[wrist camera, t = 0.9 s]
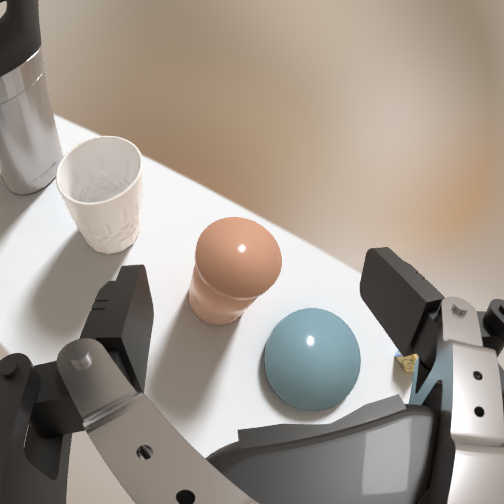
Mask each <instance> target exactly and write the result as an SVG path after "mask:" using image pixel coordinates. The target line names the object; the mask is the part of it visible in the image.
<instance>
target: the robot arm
mask: <svg viewBox="0 0 504 504" xmlns="http://www.w3.org/2000/svg"><path fill="white" fill-rule="evenodd" d="M3 1H6V2H7V9H6V12H5V13H4V15H3V16H2V17H1V18H0V173H1V175H2V177H3V179H4V181H5V183H6V185H7V187H8V188H9V189H10V191H12V192H13V193H16V194H23V195H25V194H30V193H33V192H36V191H38V190H40V189H42V188H44V187H45V186H46V185H48V184H49V183H50V182H51V181H52V180H53V179H54V178H55V177H56V172H57V169H58V166H59V164H60V162H61V160H62V159H63V153H62V149H61V145H60V142H59V138H58V133H57V129H56V125H55V120H54V116H53V111H52V107H51V102H50V97H49V91H48V86H47V80H46V73H45V67H44V61H43V53H42V44H41V35H40V26H39V11H38V0H0V3H1V2H3ZM360 294H361V297H362V299H363V301H364V302H365V304H366V305H367V306H368V308H369V309H370V310H371V312H372V313H373V315H374V316H375V317H376V319H377V320H378V321H379V323H380V324H381V326H382V327H383V328H384V330H385V331H386V333H387V334H388V336H389V337H390V338H391V340H392V341H393V343H394V344H395V346H396V347H397V348H398V350H399V351H400V353H401V354H402V356H403V357H406V356H410V355H413V354H417V355H418V357H417V359H416V361H415V365H414V373H413V381H412V388H411V394H410V400H409V404H404V403H403V401H402V399H401V397H400V396H399V394H398V395H395V396H392V397H389V398H386V399H383V400H379V401H376V402H373V403H370V404H366V405H364V406H362V407H361V408H359V409H357V410H355V411H354V412H352V413H350V414H348V415H346V416H345V417H343V418H341V419H339V420H337V421H335V422H333V423H331V424H321V425H311V424H278V425H272V426H265V427H258V428H250V429H242V430H238V440H239V441H237V442H235V443H232V444H229V445H227V446H225V447H222V448H220V449H219V450H217V451H215V452H213V453H212V454H210V455H209V456H208V457H206V458H204V457H203V456H202V455H201V454H200V453H198V452H197V451H196V450H195V449H194V448H193V447H192V446H191V445H190V444H189V443H188V442H187V441H186V440H185V439H184V438H183V437H182V436H181V435H180V433H179V432H178V431H177V430H176V429H175V428H174V427H173V426H172V425H171V424H170V423H169V422H168V421H167V420H166V419H165V417H164V416H163V415H162V414H161V413H160V412H159V411H158V410H157V408H156V407H155V406H154V405H153V404H152V403H151V401H150V400H149V399H148V398H147V397H146V396H145V395H144V387H145V378H146V369H147V361H148V353H149V346H150V339H151V332H152V326H153V318H154V312H153V303H152V298H151V293H150V289H149V284H148V279H147V274H146V269H145V266H144V265H128V266H122V267H121V269H120V272H119V274H118V277H117V279H116V281H109V282H107V283H106V284H105V285H104V286H103V287H102V288H101V289H100V290H99V292H98V295H97V297H96V299H95V302H94V304H93V306H92V311H90V313H89V316H88V318H87V321H86V323H85V326H84V328H83V331H82V333H81V336H80V339H78V340H75V341H72V342H70V343H69V344H67V345H66V346H65V347H64V348H63V349H62V350H61V351H60V353H59V354H58V357H57V361H54V362H49V363H45V364H40V365H36V366H33V364H32V363H31V361H30V360H29V358H28V357H27V356H26V355H24V354H21V353H14V354H10V355H8V356H6V357H5V358H3V359H2V360H0V504H66V492H67V477H68V464H69V454H70V446H71V439H72V433H74V432H79V431H84V430H86V432H87V434H88V435H89V437H90V439H91V440H92V442H93V444H94V445H95V447H96V449H97V450H98V452H99V453H100V455H101V456H102V458H103V459H104V461H105V463H106V464H107V465H108V467H109V468H110V470H111V471H112V473H113V474H114V476H115V477H116V478H117V480H118V481H119V483H120V484H121V485H122V487H123V488H124V489H125V491H126V492H127V493H128V495H129V496H130V497H131V499H132V500H133V501H134V502H135V504H504V370H503V369H502V367H501V366H500V365H499V363H498V361H497V357H498V356H499V354H500V352H501V351H502V349H503V347H504V300H501V299H494V300H492V301H491V303H490V305H489V307H488V309H487V311H486V312H479V311H476V310H475V308H474V307H473V306H472V305H471V304H470V303H468V302H467V301H465V300H463V299H461V298H457V297H447V298H445V297H444V296H443V295H442V294H441V293H440V292H439V291H438V290H437V289H436V288H435V287H434V286H433V285H432V284H430V283H429V282H428V281H427V280H425V278H424V277H423V276H422V275H421V274H419V273H418V271H417V270H416V269H415V268H414V267H413V266H411V265H410V264H408V263H407V262H405V261H403V260H402V259H401V258H399V257H398V256H397V255H396V254H395V253H394V252H393V251H392V250H391V249H389V248H388V247H383V248H371V249H369V250H368V251H367V253H366V257H365V262H364V267H363V272H362V277H361V281H360ZM28 425H29V427H28ZM27 428H28V431H27ZM26 433H27V436H26ZM25 437H26V441H25ZM24 442H25V446H24Z"/></svg>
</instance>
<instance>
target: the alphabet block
mask: <svg viewBox="0 0 504 504" xmlns="http://www.w3.org/2000/svg"><path fill="white" fill-rule="evenodd" d="M395 357H396V359H397V360H398V362H399V363H400V364H401V366H402V367H403V369H404V370H405V371H406V373H407V372H412V371H414V365H415V361H416V359H417V357H418V355H417V354H413V355H410V356H406V357H403V356H402V354H401V353H400V351H398V352H397V354H396V355H395Z"/></svg>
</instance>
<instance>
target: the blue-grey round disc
mask: <svg viewBox="0 0 504 504" xmlns="http://www.w3.org/2000/svg"><path fill="white" fill-rule="evenodd" d="M264 363H265V370H266V374H267V378H268V380H269V382H270V384H271V386H272V388H273V389H274V391H275V392H276V393H277V395H278V396H279V397H280V398H281V399H283V400H284V401H285V402H286V403H288V404H289V405H291V406H294V407H296V408H299V409H302V410H310V411H318V410H324V409H328V408H331V407H333V406H335V405H337V404H338V403H340V402H341V401H342V400H343V399H345V398H346V397H347V396H348V394H349V393H350V392H351V390H352V389H353V387H354V385H355V384H356V381H357V379H358V376H359V372H360V363H361V358H360V350H359V346H358V343H357V340H356V338H355V336H354V334H353V332H352V330H351V329H350V328H349V326H348V325H347V324H346V323H345V322H344V321H343V320H342V319H341V318H339V317H338V316H336V315H335V314H333V313H331V312H329V311H326V310H322V309H317V308H308V309H302V310H298V311H296V312H293V313H291V314H290V315H288V316H287V317H285V318H284V319H283V320H281V321H280V322H279V323H278V324H277V325H276V327H275V328H274V329H273V331H272V332H271V334H270V336H269V338H268V341H267V344H266V348H265V355H264Z"/></svg>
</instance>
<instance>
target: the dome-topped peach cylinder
mask: <svg viewBox="0 0 504 504" xmlns="http://www.w3.org/2000/svg"><path fill="white" fill-rule="evenodd" d="M281 265H282V258H281V252H280V249H279V246H278V244H277V242H276V240H275V239H274V237H273V236H272V235H271V234H270V233H269V232H268V231H267V230H266V229H265V228H264V227H263V226H261V225H259V224H258V223H256V222H254V221H251V220H249V219H245V218H239V217H229V218H224V219H220V220H218V221H215V222H214V223H212V224H210V225H209V226H208V227H207V228H206V229H205V230H204V231H203V232H202V234H201V235H200V237H199V239H198V242H197V246H196V251H195V267H194V271H193V275H192V280H191V284H190V289H189V303H190V306H191V308H192V310H193V312H194V313H195V315H196V316H197V317H198V318H200V319H201V320H202V321H204V322H206V323H208V324H211V325H219V326H220V325H227V324H230V323H232V322H234V321H235V320H237V319H238V318H239V317H240V316H241V315H242V314H243V313H244V311H245V310H246V309H247V308H248V307H249V306H250V305H251V304H252V303H253V302H254V301H255V300H256V298H257V297H258V296H260V295H262V294H263V293H265V292H266V291H267V290H268V289H269V288H270V287H271V286H272V285H273V284H274V283H275V281H276V280H277V278H278V276H279V274H280V271H281Z"/></svg>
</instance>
